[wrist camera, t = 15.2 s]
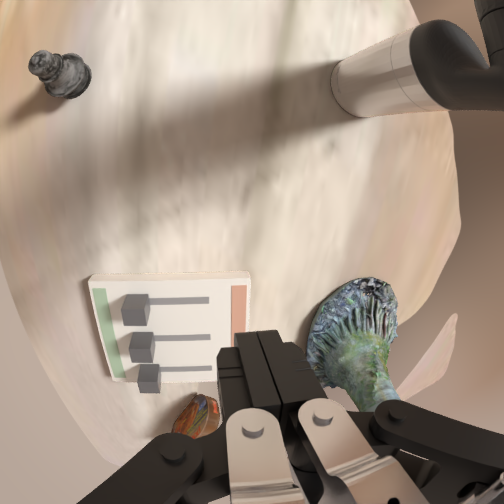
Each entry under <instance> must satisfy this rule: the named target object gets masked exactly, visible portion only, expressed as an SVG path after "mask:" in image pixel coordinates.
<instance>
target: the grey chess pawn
mask: <svg viewBox="0 0 504 504" xmlns="http://www.w3.org/2000/svg"><path fill="white" fill-rule="evenodd" d="M28 68H29V71H30V72H31V73H32V74H34V75H36V76H38V77H39V79H40V80H41V81H42V82H44V85H45V89H46V91H47V92H48V93H49V94H50V95H51V96H54V97H64V98H67V99H72V98H76V97H78V96H80V95H81V94H82V93H83V92H84V91H85V90H86V89H87V88H88V86H89V84H90V81H91V74H92V73H91V69H90V68H89V66H88V65H86V64H85V63H84V61H83V60H82V58H81V57H80V56H79V55H77V54H73V53H68V54H65V55H62V56H61V55H60V54H52V53H50V52H48V51H46V50H40V51H38V52H36V53H35V54H34V55H33V56H32V57H31V59H30V61H29V66H28Z"/></svg>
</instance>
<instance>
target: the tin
mask: <svg viewBox="0 0 504 504" xmlns="http://www.w3.org/2000/svg"><path fill="white" fill-rule="evenodd" d="M219 420H220V413H219V407H218V403H217V401H216V400H215V399H214V398H211V397H208V396H205V395H203V394H199V395H197V396H196V397H195V398H194V399H193V400H192V401H191V403H190V404H189V405H188V406H187V408H186V409H185V410H184V411H183V412H182V414H181V415H180V416H179V417H178V419H177V420H176V421H175V423H174V426H173V429H172V432H171V433H182V434H185V435H188V436H190V437H192V438H193V439H196V438H199V437H202V436H205V435H208V434H210V433H212V432H214V431H215V430H216V429H217V427H218V424H219Z"/></svg>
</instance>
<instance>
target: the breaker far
mask: <svg viewBox="0 0 504 504" xmlns="http://www.w3.org/2000/svg"><path fill="white" fill-rule="evenodd" d="M137 383H138V387H139V390H140V393H160V387H161V370H160V365H159V364H140V368H139V373H138V379H137Z"/></svg>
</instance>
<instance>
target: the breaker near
mask: <svg viewBox="0 0 504 504" xmlns="http://www.w3.org/2000/svg"><path fill="white" fill-rule="evenodd" d="M150 310H151V309H150V302H149V294H127V295H126V298H125V300H124V302H123V305H122V307H121V314H122V319H123V324H124V326H147V323H148V319H149V315H150Z"/></svg>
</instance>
